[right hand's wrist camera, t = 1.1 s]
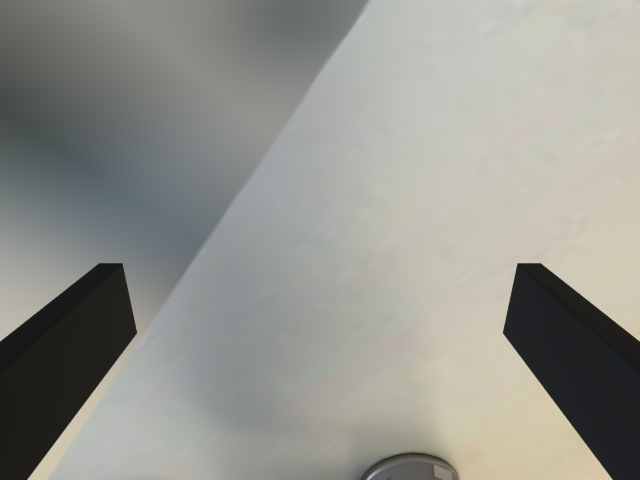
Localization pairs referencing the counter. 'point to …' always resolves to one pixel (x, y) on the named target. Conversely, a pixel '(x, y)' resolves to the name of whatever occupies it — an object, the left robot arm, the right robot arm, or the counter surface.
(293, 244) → the counter surface
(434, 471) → the right robot arm
